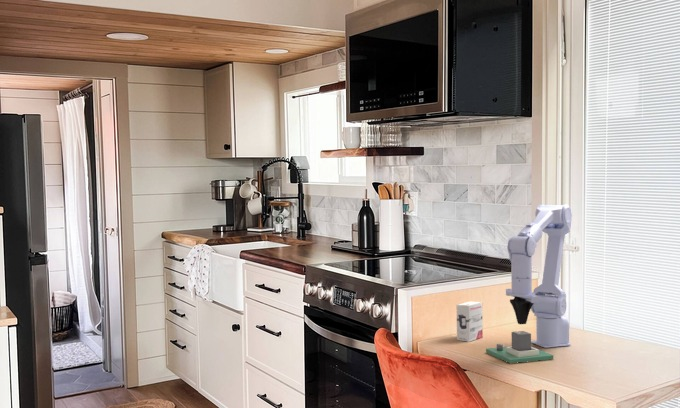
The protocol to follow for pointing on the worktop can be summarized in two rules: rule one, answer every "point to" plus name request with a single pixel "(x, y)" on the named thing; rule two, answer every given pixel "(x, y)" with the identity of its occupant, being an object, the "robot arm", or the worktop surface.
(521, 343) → the plug
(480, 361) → the worktop surface
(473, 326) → the ink box
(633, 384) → the worktop surface
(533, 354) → the board
